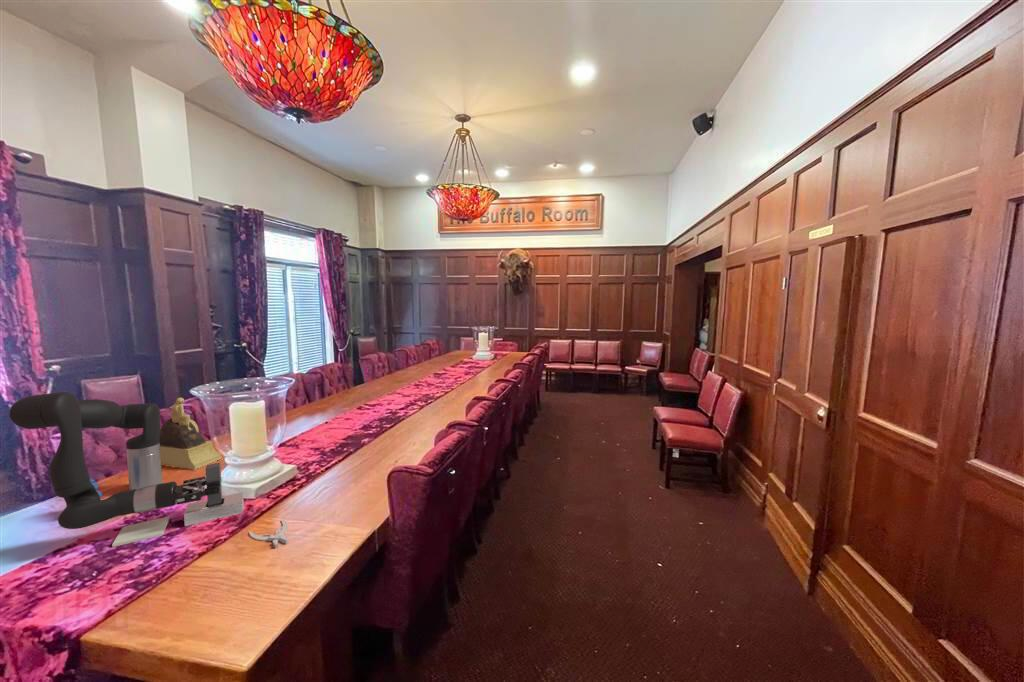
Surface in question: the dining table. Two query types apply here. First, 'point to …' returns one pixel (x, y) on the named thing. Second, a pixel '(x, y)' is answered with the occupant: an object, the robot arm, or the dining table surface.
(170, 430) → the seated figure statue
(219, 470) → the steel peg
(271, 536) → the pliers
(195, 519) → the grey slotted block
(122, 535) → the sage pad
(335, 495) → the dining table surface
